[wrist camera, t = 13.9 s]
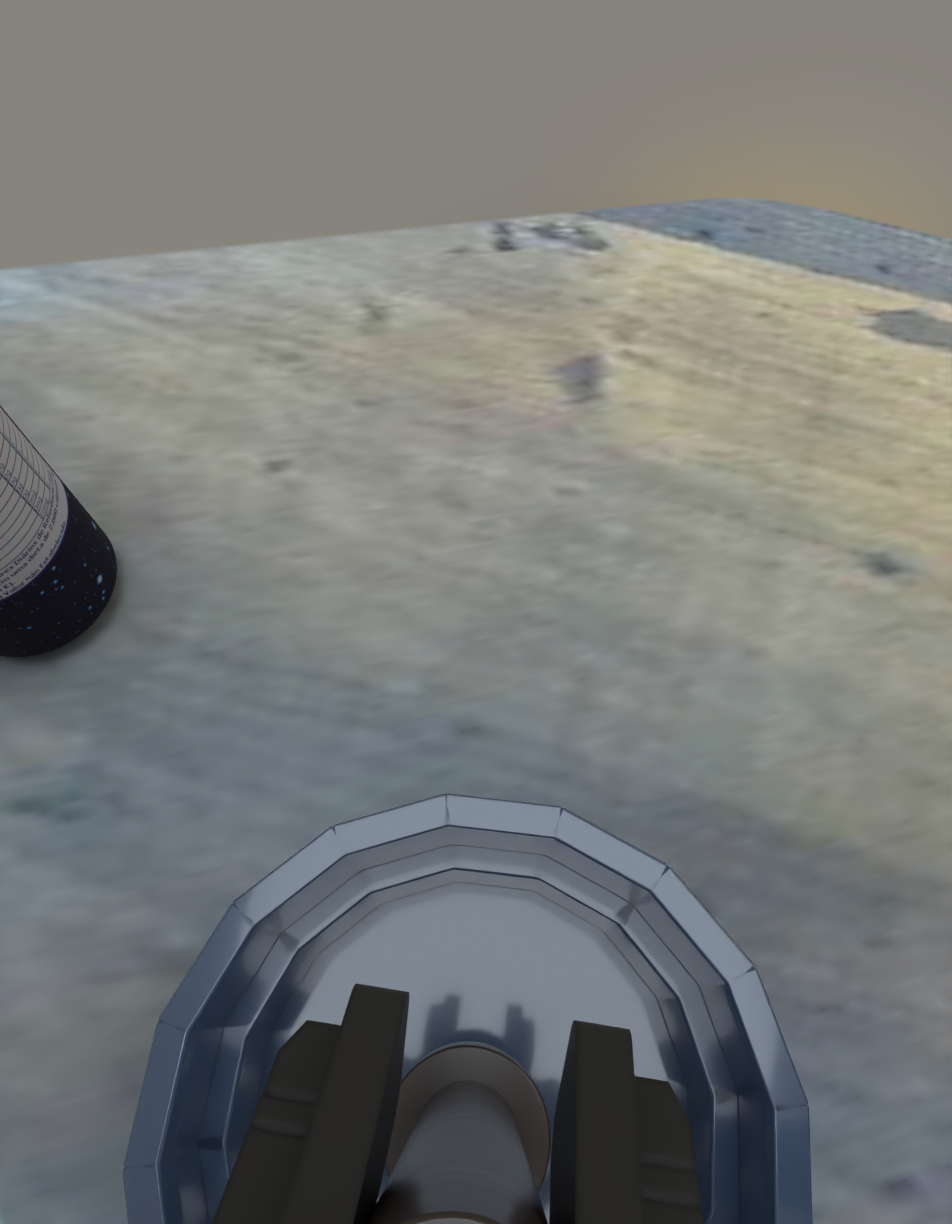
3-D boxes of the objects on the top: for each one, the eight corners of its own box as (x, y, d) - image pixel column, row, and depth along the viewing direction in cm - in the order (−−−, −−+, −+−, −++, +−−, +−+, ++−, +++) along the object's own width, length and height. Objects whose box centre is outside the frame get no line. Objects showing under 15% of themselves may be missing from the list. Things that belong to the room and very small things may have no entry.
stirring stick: (552, 1054, 21) (690, 1155, 8) (534, 1230, 20) (663, 1752, 6) (406, 1029, 21) (280, 1084, 8) (377, 1202, 20) (160, 1644, 6)
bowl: (842, 1152, 24) (958, 1202, 18) (421, 1597, 21) (396, 1838, 15) (508, 749, 29) (515, 684, 23) (117, 1056, 25) (6, 1074, 19)
